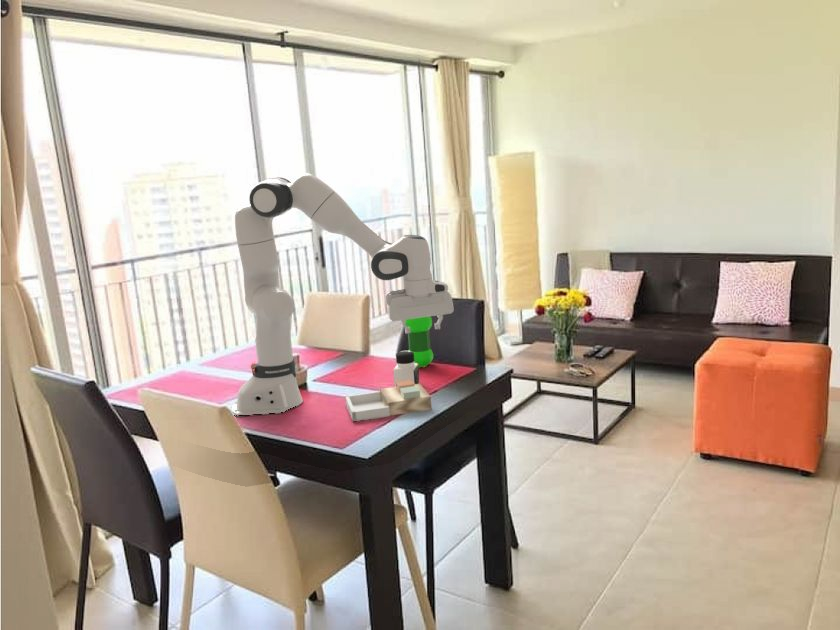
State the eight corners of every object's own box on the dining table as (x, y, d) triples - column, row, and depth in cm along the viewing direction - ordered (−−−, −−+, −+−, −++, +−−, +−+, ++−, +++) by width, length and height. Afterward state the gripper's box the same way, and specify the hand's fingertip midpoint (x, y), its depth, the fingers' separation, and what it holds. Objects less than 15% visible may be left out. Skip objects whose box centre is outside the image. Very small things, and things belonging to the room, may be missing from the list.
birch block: (389, 415, 198) (388, 402, 197) (380, 401, 211) (379, 389, 210) (431, 409, 201) (430, 396, 200) (420, 395, 214) (419, 383, 213)
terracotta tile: (399, 392, 206) (398, 386, 205) (396, 387, 210) (395, 381, 210) (414, 390, 207) (414, 384, 206) (411, 385, 212) (410, 379, 211)
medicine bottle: (415, 389, 220) (412, 354, 217) (394, 389, 221) (391, 355, 219) (419, 383, 227) (417, 349, 224) (399, 383, 228) (396, 349, 226)
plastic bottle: (430, 360, 253) (426, 295, 248) (437, 367, 243) (432, 300, 238) (404, 363, 251) (400, 298, 246) (410, 371, 241) (405, 303, 236)
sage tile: (404, 399, 199) (403, 393, 199) (400, 394, 204) (400, 388, 203) (420, 397, 200) (419, 390, 200) (416, 392, 205) (415, 385, 204)
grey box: (353, 422, 195) (352, 412, 194) (346, 404, 210) (345, 395, 209) (389, 416, 197) (389, 407, 196) (380, 400, 212) (379, 391, 212)
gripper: (386, 293, 199) (391, 337, 202) (452, 285, 203) (456, 328, 206) (383, 290, 205) (388, 333, 208) (448, 281, 209) (451, 324, 212)
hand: (422, 331), depth 207 cm, fingers open, 8 cm apart
